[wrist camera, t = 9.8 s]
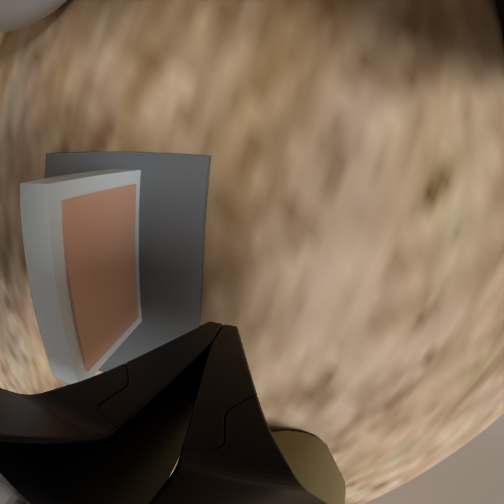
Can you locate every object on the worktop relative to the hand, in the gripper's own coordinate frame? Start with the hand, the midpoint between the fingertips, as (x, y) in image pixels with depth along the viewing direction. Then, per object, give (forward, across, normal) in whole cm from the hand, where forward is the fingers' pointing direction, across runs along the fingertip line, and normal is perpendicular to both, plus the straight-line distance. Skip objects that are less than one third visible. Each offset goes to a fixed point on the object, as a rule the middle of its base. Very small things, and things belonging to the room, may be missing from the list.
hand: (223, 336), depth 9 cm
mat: (+6, +7, +2) cm, 10 cm away
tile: (+5, +6, 0) cm, 8 cm away
